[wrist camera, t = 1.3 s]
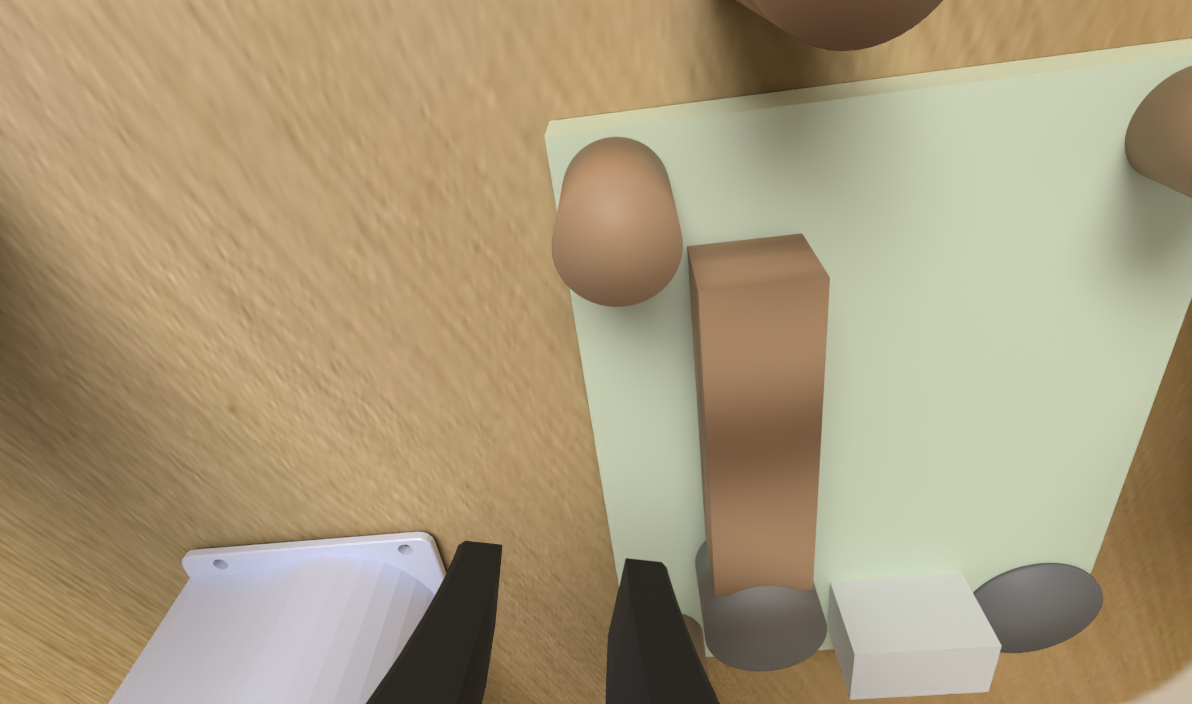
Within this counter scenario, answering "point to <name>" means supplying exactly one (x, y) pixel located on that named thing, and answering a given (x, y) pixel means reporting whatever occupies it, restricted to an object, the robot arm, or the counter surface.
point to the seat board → (903, 332)
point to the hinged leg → (759, 445)
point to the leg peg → (843, 20)
